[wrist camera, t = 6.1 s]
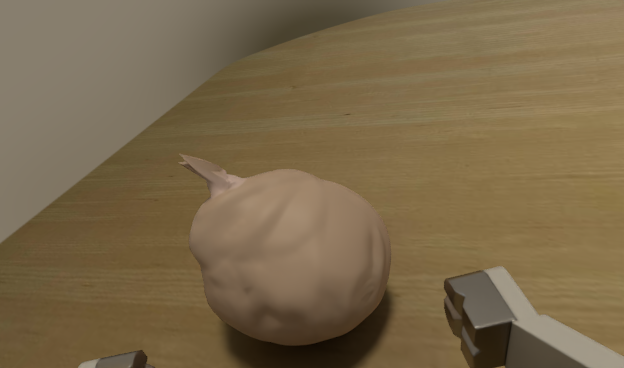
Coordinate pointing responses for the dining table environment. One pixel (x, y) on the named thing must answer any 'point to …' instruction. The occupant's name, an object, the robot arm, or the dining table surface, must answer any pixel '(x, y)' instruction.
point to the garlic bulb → (288, 254)
